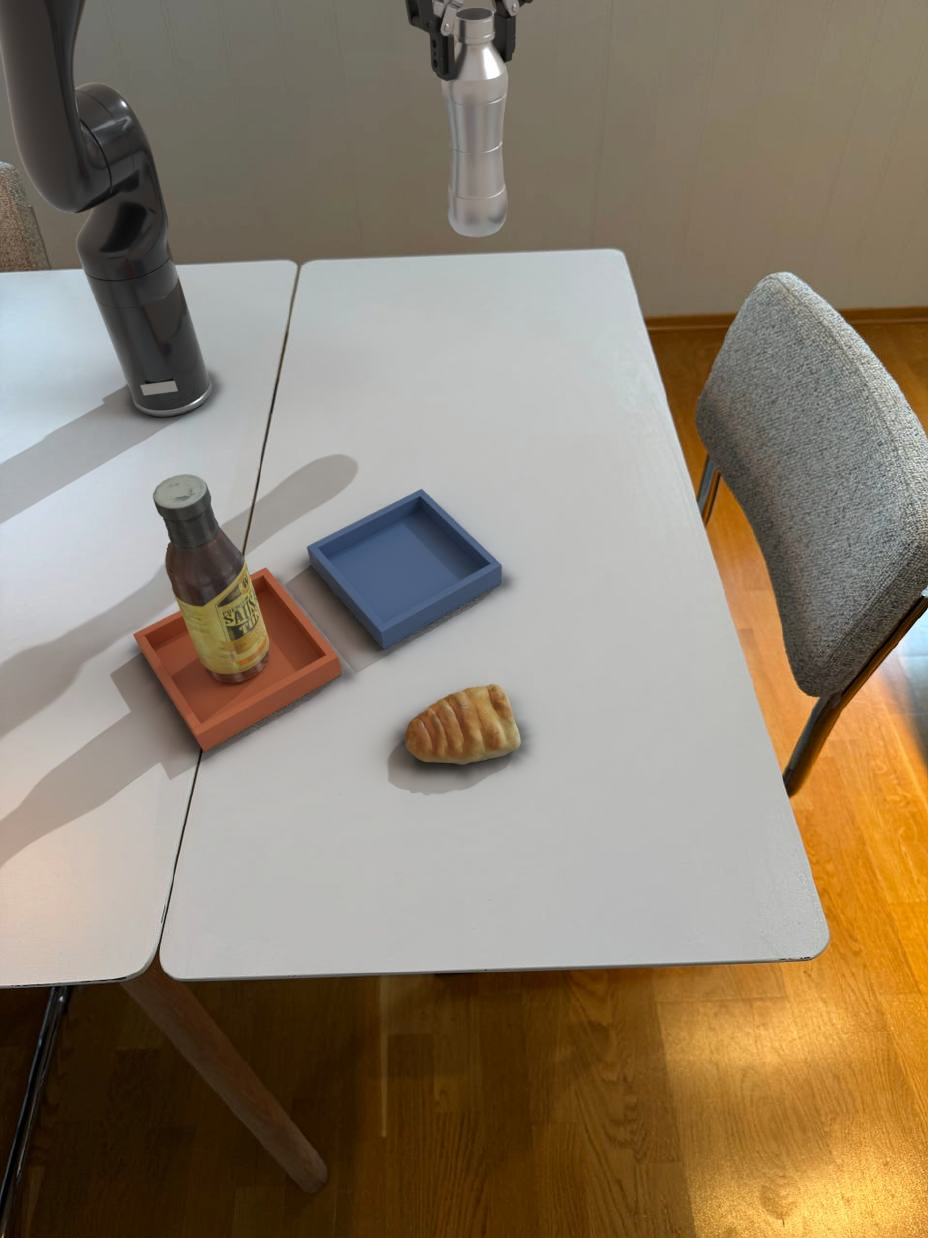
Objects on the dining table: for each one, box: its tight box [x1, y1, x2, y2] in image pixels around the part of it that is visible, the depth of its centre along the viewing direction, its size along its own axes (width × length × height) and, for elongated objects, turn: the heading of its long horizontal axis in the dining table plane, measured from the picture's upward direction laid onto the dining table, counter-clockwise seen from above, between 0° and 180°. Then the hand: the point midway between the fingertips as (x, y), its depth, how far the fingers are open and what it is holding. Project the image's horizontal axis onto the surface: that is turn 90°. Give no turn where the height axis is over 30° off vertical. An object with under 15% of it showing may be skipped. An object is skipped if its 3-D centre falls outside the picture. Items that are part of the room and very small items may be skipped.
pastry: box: [404, 683, 522, 766], centre depth 74 cm, size 9×7×4 cm
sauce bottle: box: [152, 473, 269, 684], centre depth 74 cm, size 7×6×20 cm
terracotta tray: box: [132, 566, 343, 753], centre depth 81 cm, size 14×14×3 cm
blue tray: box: [306, 488, 503, 651], centre depth 87 cm, size 14×14×3 cm
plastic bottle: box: [440, 6, 510, 238], centre depth 88 cm, size 6×7×20 cm
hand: (473, 68), depth 84 cm, fingers closed on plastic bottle, 6 cm apart
